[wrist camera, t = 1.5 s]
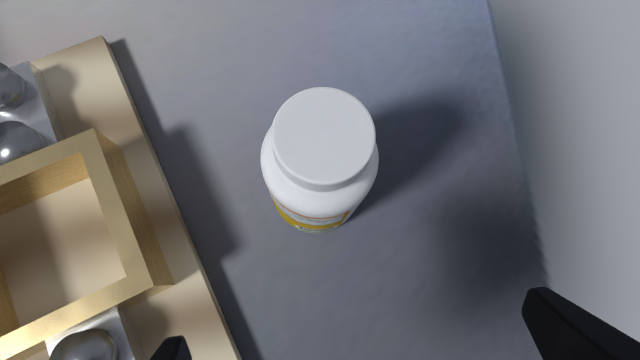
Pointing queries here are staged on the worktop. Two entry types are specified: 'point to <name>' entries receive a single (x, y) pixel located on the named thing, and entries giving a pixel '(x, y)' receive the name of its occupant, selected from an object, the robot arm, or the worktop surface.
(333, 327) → the worktop surface
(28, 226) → the board
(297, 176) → the supplement bottle
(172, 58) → the worktop surface
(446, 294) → the worktop surface
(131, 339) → the bottle holder fixture
